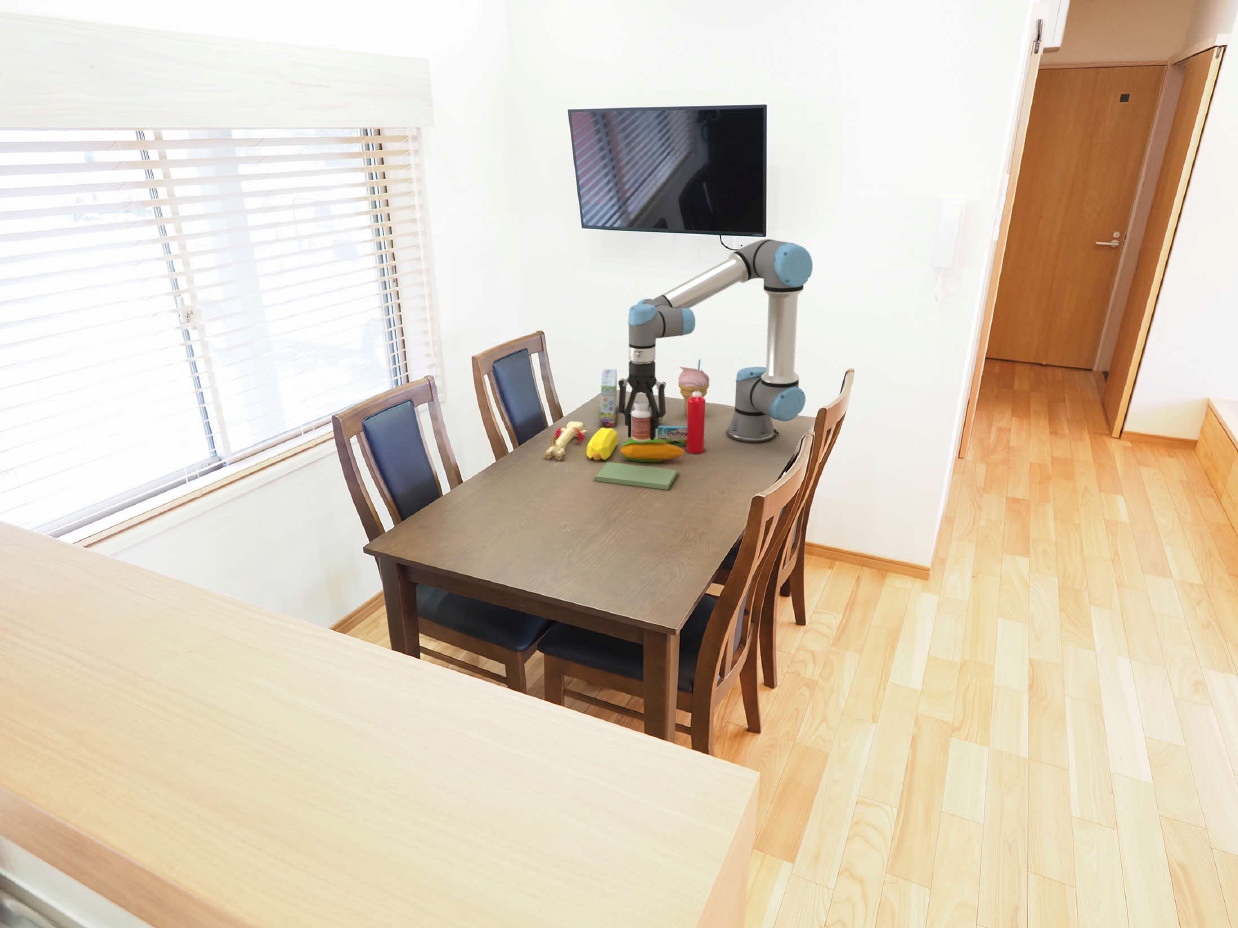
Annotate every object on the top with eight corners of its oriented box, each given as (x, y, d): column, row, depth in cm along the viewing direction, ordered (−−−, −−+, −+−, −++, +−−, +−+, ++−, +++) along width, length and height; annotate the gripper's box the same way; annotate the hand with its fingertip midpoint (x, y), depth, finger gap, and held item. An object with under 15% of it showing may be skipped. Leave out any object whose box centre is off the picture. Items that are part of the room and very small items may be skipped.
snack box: (616, 427, 273) (616, 385, 267) (600, 427, 273) (599, 385, 268) (617, 407, 293) (616, 368, 287) (602, 407, 293) (601, 368, 287)
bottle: (703, 453, 250) (705, 393, 242) (686, 453, 251) (688, 393, 243) (703, 447, 255) (705, 388, 247) (686, 447, 256) (688, 388, 248)
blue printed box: (694, 444, 258) (695, 426, 255) (694, 446, 256) (695, 428, 254) (658, 443, 259) (658, 425, 257) (657, 445, 258) (658, 427, 255)
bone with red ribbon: (568, 464, 246) (593, 431, 267) (566, 439, 242) (592, 408, 263) (539, 461, 249) (565, 428, 270) (536, 436, 245) (564, 405, 266)
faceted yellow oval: (620, 443, 259) (598, 441, 261) (620, 424, 257) (598, 422, 258) (607, 464, 243) (583, 462, 245) (607, 444, 241) (583, 442, 242)
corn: (621, 432, 247) (685, 434, 245) (621, 454, 250) (684, 456, 248) (619, 442, 240) (684, 444, 238) (619, 465, 244) (684, 466, 242)
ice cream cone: (679, 410, 289) (680, 357, 281) (709, 411, 287) (711, 358, 279) (675, 420, 279) (676, 365, 272) (706, 421, 277) (708, 367, 270)
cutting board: (676, 474, 235) (677, 470, 235) (667, 489, 226) (667, 485, 225) (607, 466, 242) (607, 462, 241) (595, 480, 232) (595, 476, 231)
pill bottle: (654, 441, 228) (655, 405, 224) (634, 443, 227) (634, 406, 223) (649, 433, 234) (649, 398, 229) (629, 435, 232) (629, 400, 228)
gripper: (605, 361, 220) (606, 438, 230) (671, 366, 215) (670, 445, 224) (613, 354, 227) (614, 429, 236) (678, 359, 222) (676, 436, 231)
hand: (641, 437), depth 230 cm, fingers closed on pill bottle, 6 cm apart
